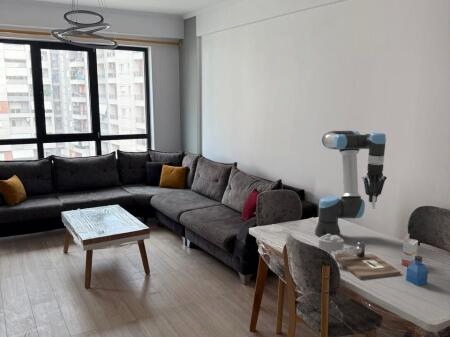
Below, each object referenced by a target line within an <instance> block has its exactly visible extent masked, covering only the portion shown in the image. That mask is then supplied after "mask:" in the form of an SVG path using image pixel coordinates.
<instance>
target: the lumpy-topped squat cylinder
mask: <svg viewBox="0 0 450 337" xmlns="http://www.w3.org/2000/svg"><path fill="white" fill-rule="evenodd" d="M317 242H318V244H317V247H319V248H322V249H324V250H326V251H327V252H329V253H330V254H331V251H336V250H340V249H344V245H345V244H344V242H345V240H344V239H343V238H341V236H340V237H339V236H338V235H331V234H326V235H324V236H322V237H319V238H318V241H317Z"/></svg>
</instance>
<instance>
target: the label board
mask: <svg viewBox="0 0 450 337" xmlns="http://www.w3.org/2000/svg"><path fill="white" fill-rule="evenodd" d="M336 261H337V262H336ZM336 261H335V262H336V263H337V264H339V265H340V266H341V267H343V268H344V269H345V270H347V271H348V272H349V273H350V274H352V275H353V276H354V277H355V278H357V279H358V280H365V279H375V278H382V277H383V278H384V277H391V276H399V275H401V272H402V271H400V270H399V269H398V268H395V267H394V266H393V265H391V264H390V263H388V262H387V261H385V260H383V259H381V257H378V256H377V255H375V254H373V253H369V254H366V253H365V256H364V257H359V256H357V254H355V255H351V256H347V257H343V258H338V259H336Z"/></svg>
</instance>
